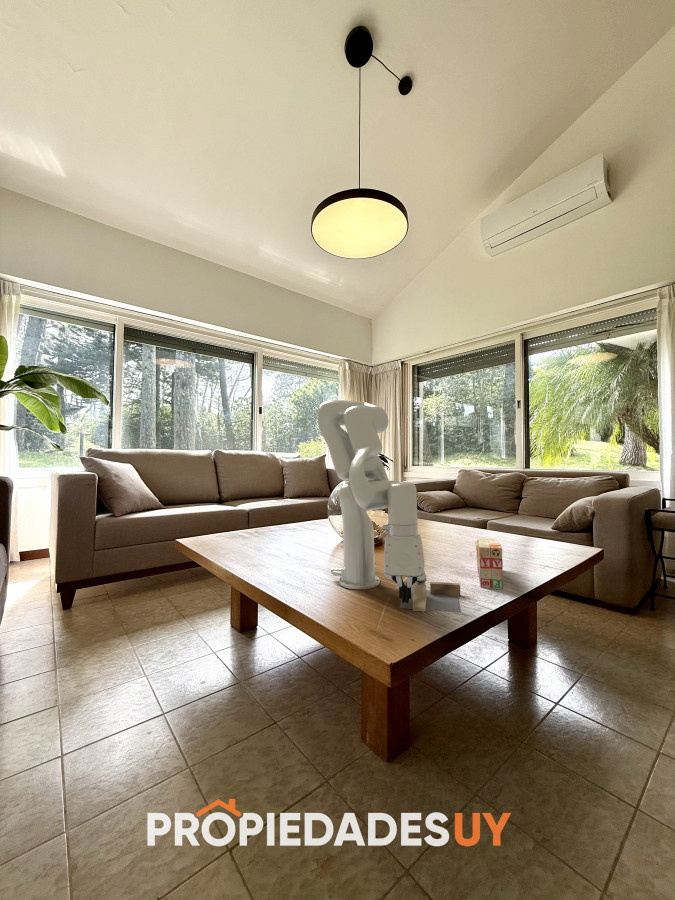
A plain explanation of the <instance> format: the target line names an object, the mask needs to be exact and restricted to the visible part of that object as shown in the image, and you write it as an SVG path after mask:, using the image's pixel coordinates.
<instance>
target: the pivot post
mask: <svg viewBox="0 0 675 900" xmlns="http://www.w3.org/2000/svg"><path fill="white" fill-rule="evenodd" d="M426 582H427V577H426V578H425V579H424V580H418V581H416V582H415V584H418V585H426Z"/></svg>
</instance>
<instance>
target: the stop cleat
mask: <svg viewBox="0 0 675 900" xmlns="http://www.w3.org/2000/svg"><path fill="white" fill-rule="evenodd" d="M429 585H430V586H429V589H430V594H434V595H448V596H459V597H461V583H459V582H458V583H457V582H456V583H455V582H442V581H441V582H440V581H430V583H429Z"/></svg>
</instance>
